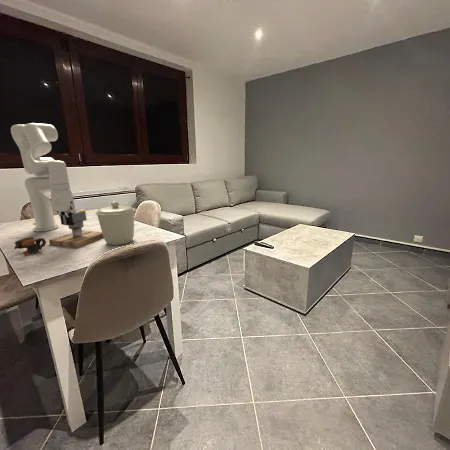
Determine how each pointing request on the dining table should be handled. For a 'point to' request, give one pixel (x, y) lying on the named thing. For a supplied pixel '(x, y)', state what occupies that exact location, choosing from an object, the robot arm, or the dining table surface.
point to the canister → (116, 223)
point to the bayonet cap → (76, 219)
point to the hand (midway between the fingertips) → (67, 223)
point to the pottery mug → (30, 245)
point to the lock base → (76, 238)
